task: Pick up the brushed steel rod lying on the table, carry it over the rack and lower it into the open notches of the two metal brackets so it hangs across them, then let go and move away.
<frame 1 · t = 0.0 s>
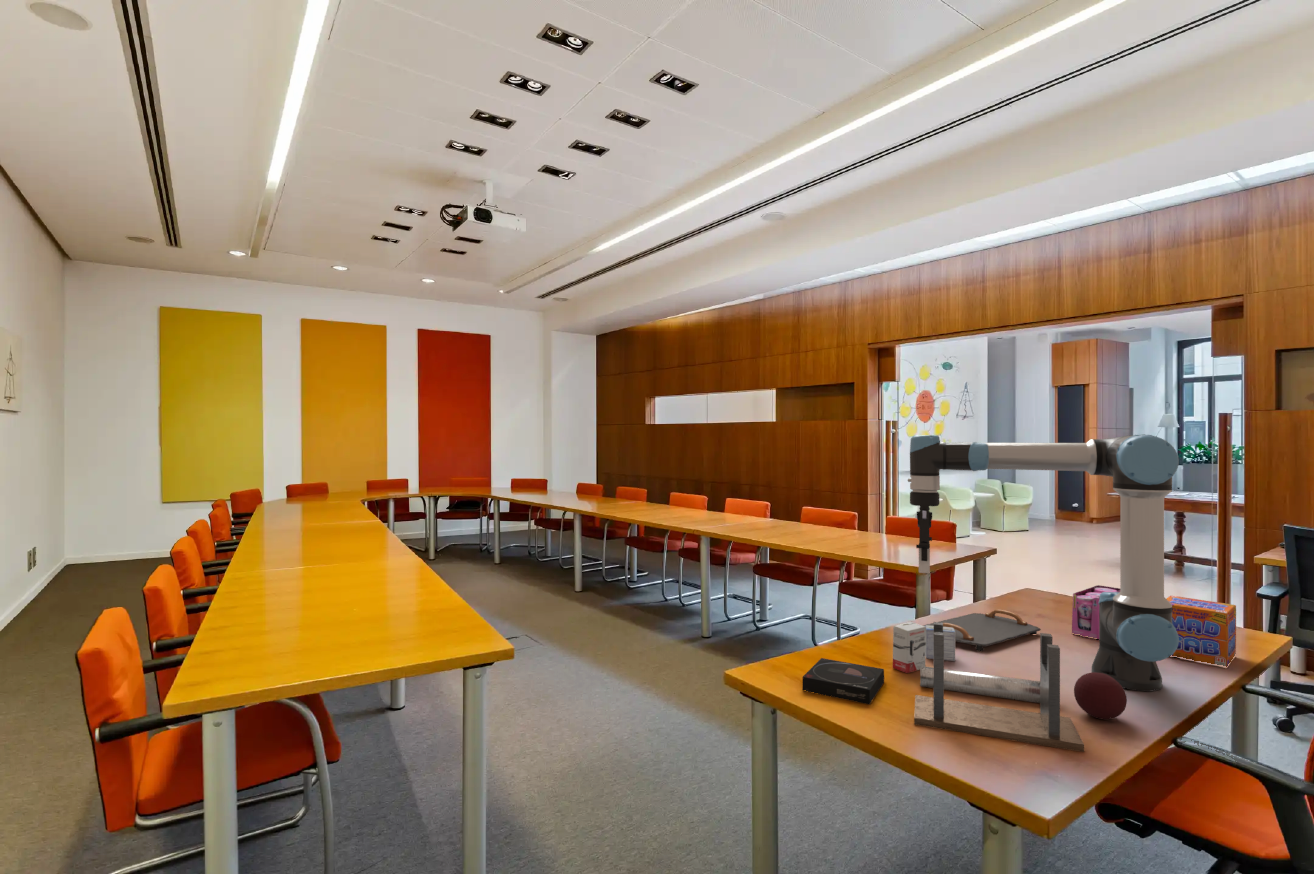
hand: (924, 568, 177), 28 cm above the table, tool pointing down, fingers open, 13 cm apart
bracket rack: (992, 724, 143), on the table
decorative ball: (1099, 718, 147), on the table
ink box: (909, 668, 179), on the table
steel rod: (985, 694, 161), on the table
medicine box: (939, 658, 188), on the table
gum box: (1098, 632, 215), on the table
portable cd player: (844, 688, 165), on the table
serving board: (980, 636, 210), on the table
game box: (1197, 657, 190), on the table
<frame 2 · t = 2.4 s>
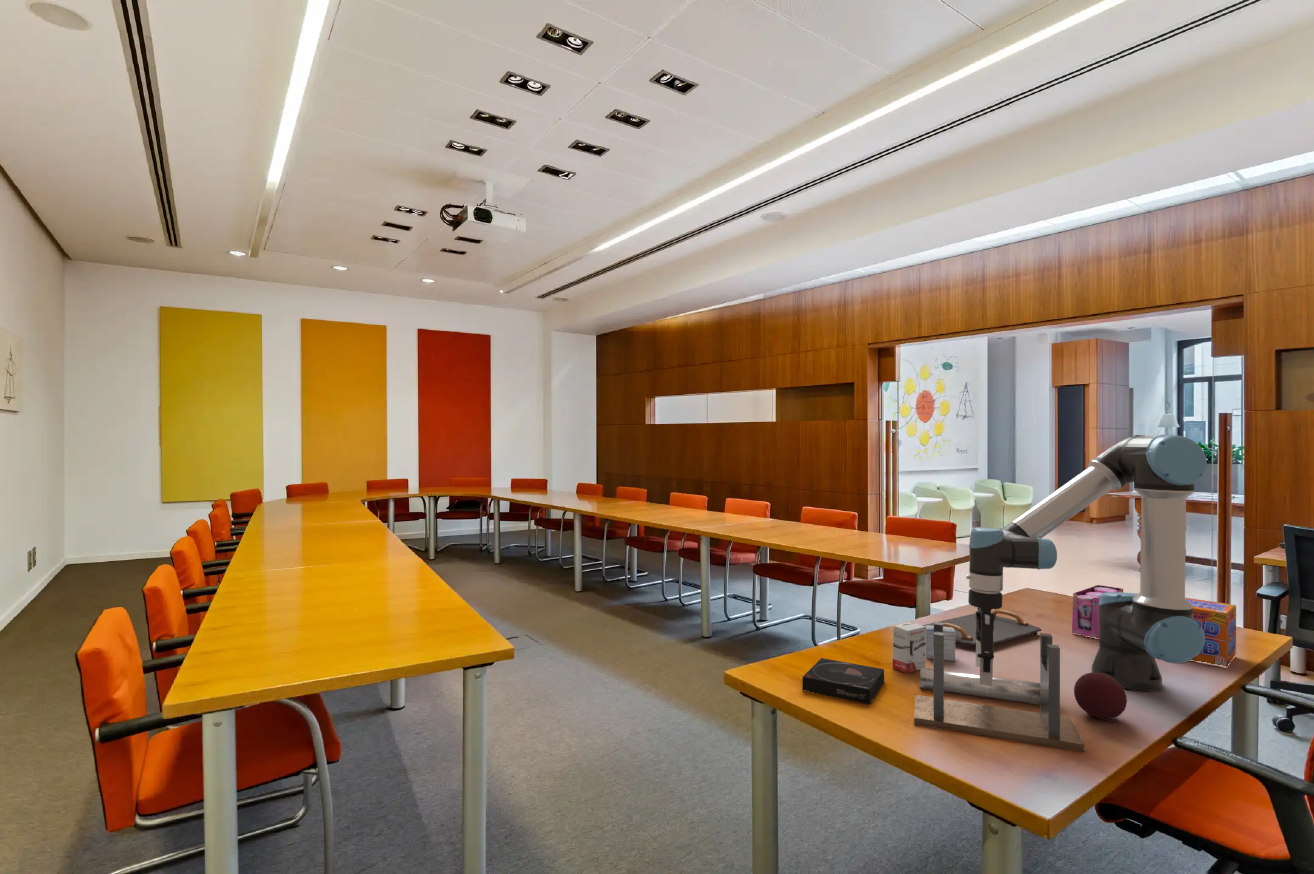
hand: (983, 675, 161), 4 cm above the table, tool pointing down, fingers open, 13 cm apart
steel rod: (985, 693, 161), on the table, tilted 29°
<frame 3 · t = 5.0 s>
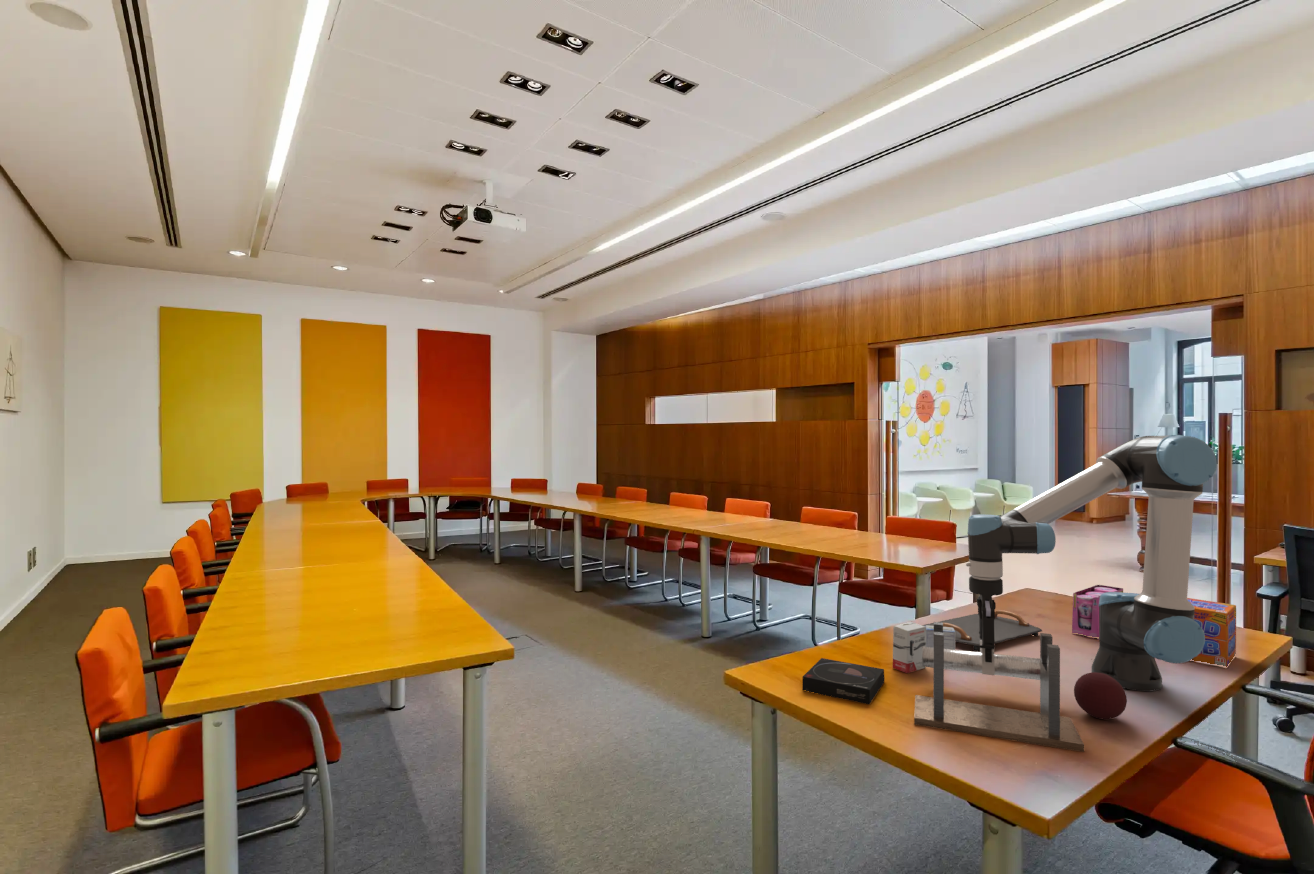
hand: (987, 670, 161), 6 cm above the table, tool pointing down, fingers closed on steel rod, 5 cm apart
steel rod: (987, 671, 162), point 5 cm above the table, tilted 26°, touching gripper
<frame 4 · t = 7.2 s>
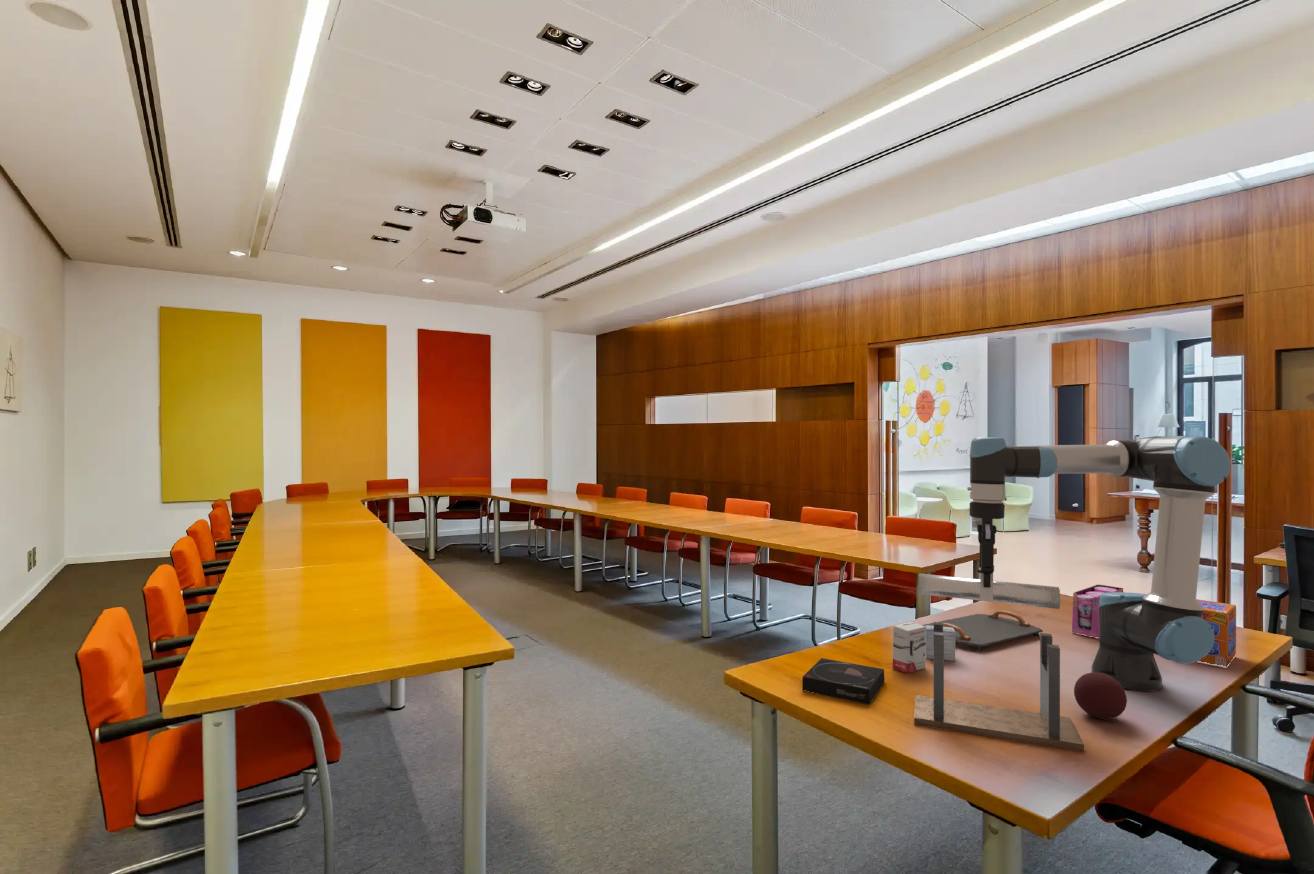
hand: (985, 597, 155), 25 cm above the table, tool pointing down, fingers closed on steel rod, 5 cm apart
steel rod: (985, 598, 156), point 25 cm above the table, tilted 25°, touching gripper
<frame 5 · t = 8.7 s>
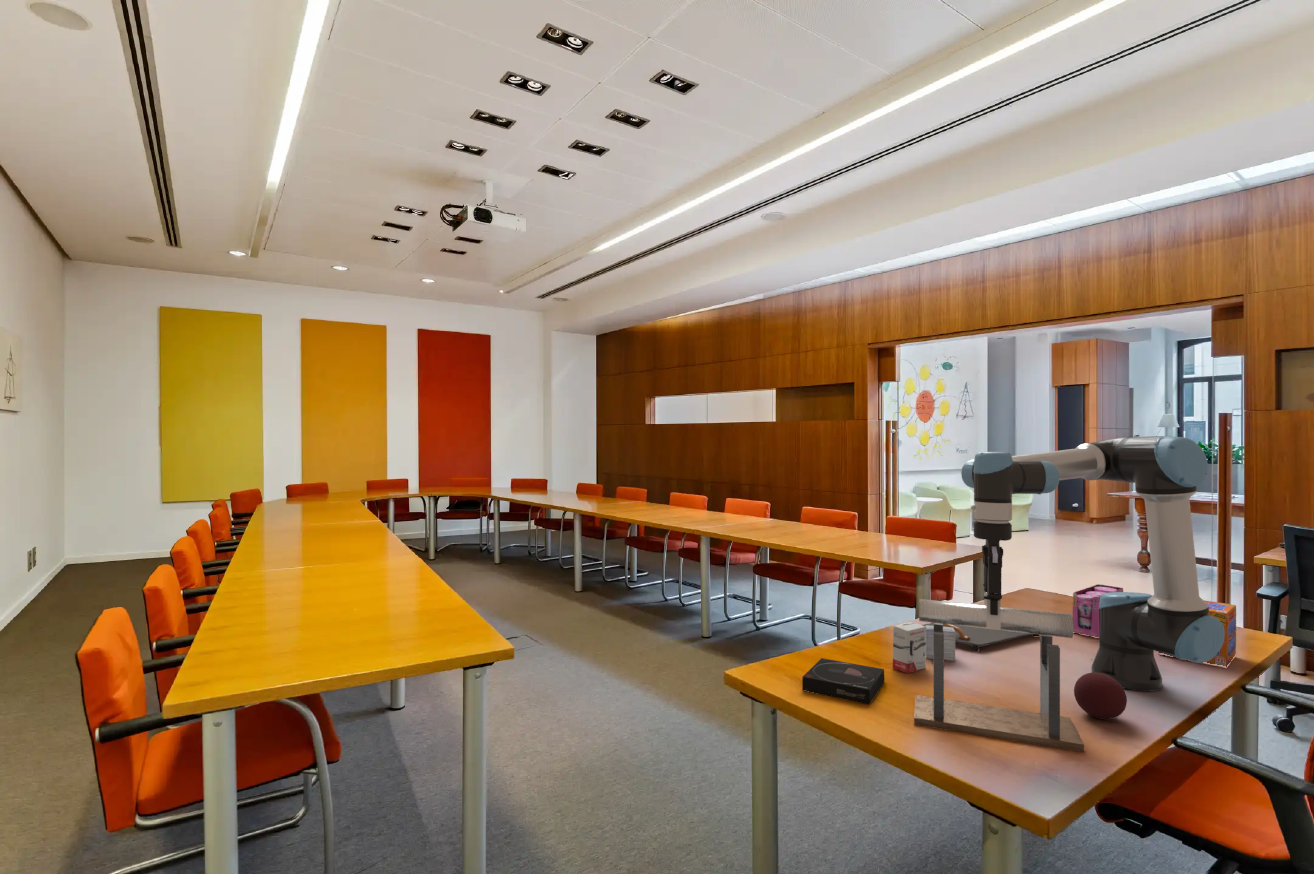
hand: (992, 625, 143), 22 cm above the table, tool pointing down, fingers closed on steel rod, 5 cm apart
steel rod: (991, 626, 144), point 21 cm above the table, tilted 25°, touching gripper
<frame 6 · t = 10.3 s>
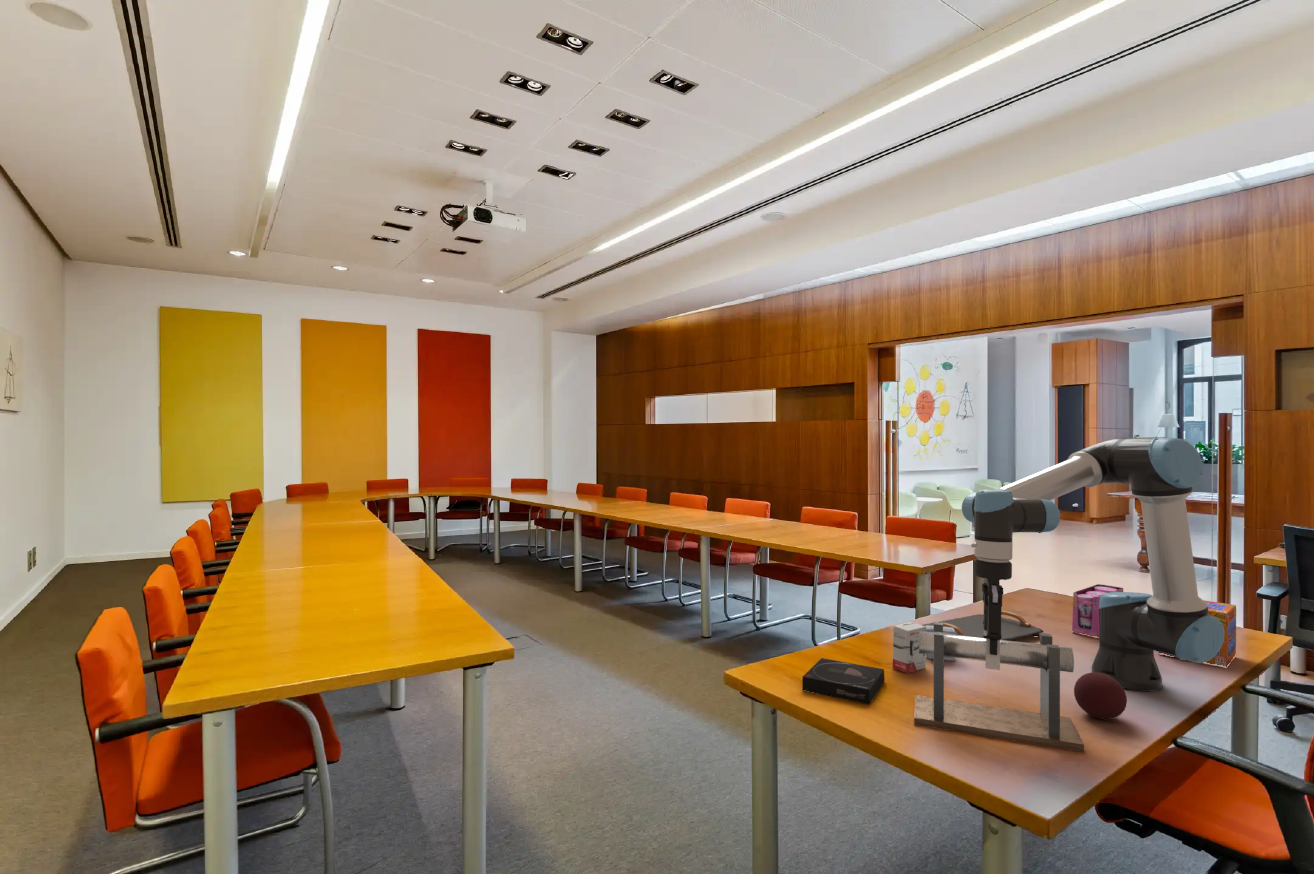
hand: (991, 664, 143), 13 cm above the table, tool pointing down, fingers closed on steel rod, 5 cm apart
steel rod: (991, 657, 144), point 15 cm above the table, tilted 39°, touching bracket rack, gripper
when the fingers open (13 cm above the table, at t = 10.5 s): steel rod stays where it is, resting on bracket rack.
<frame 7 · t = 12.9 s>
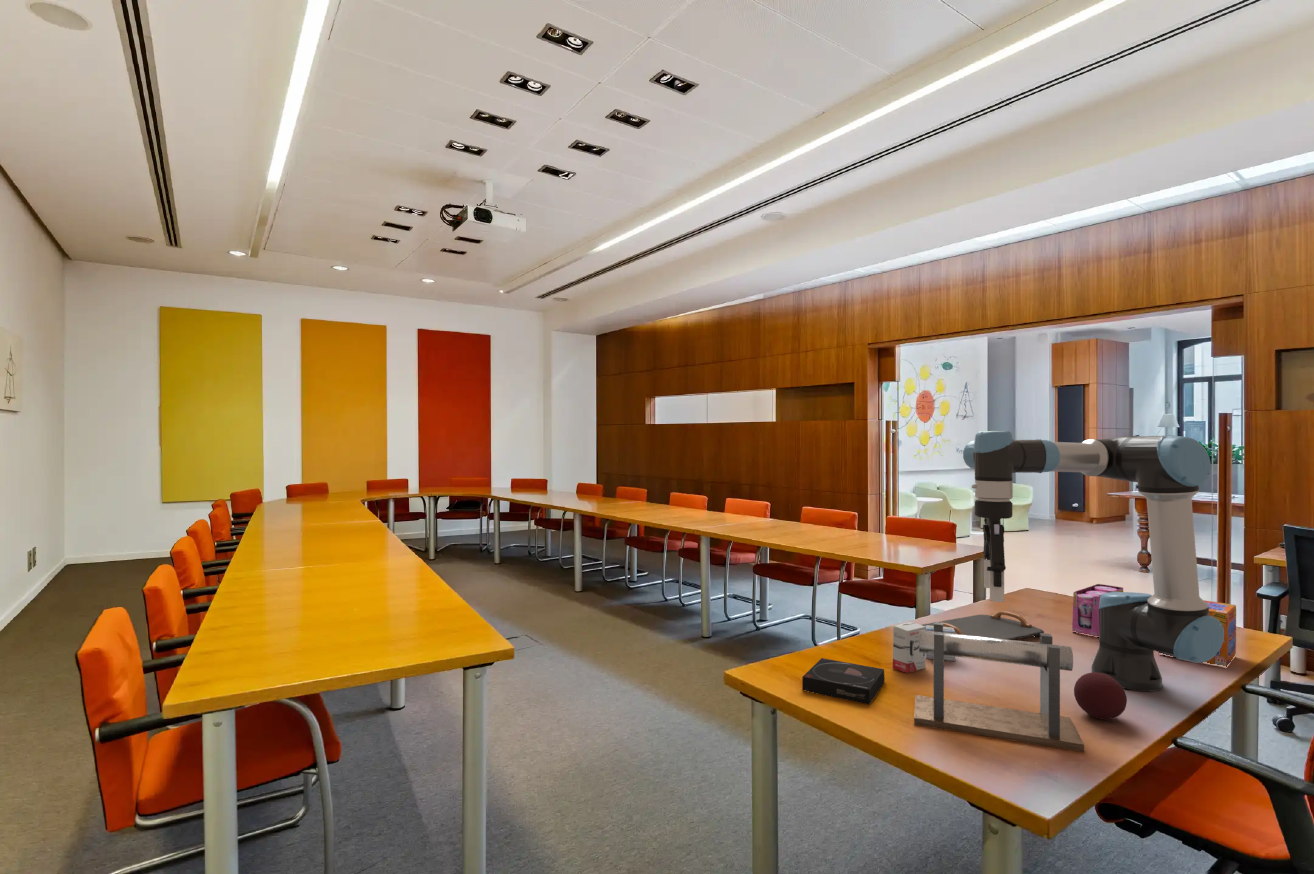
hand: (993, 594, 144), 29 cm above the table, tool pointing down, fingers open, 13 cm apart
steel rod: (991, 659, 144), point 14 cm above the table, tilted 18°, touching bracket rack
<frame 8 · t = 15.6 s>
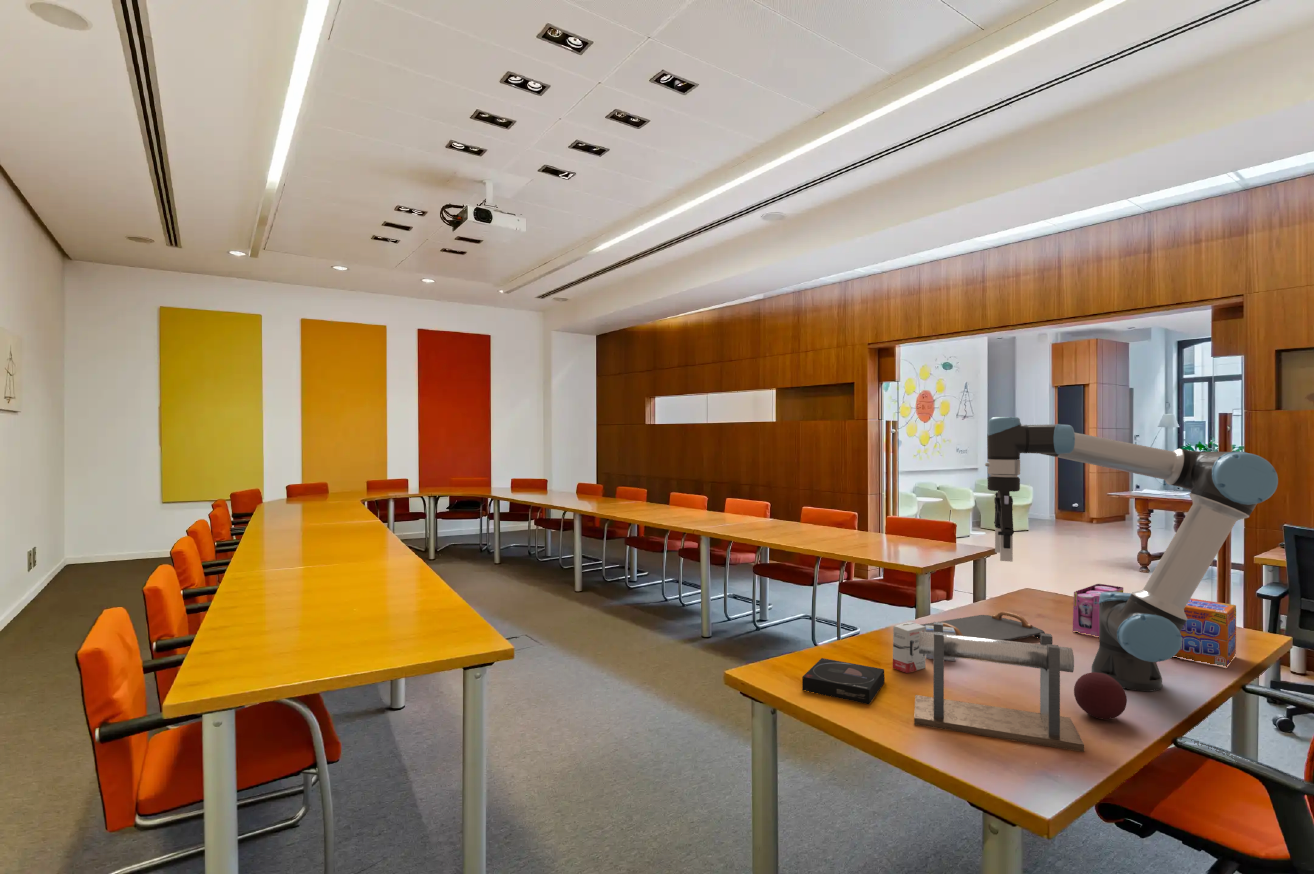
hand: (1003, 556, 169), 33 cm above the table, tool pointing down, fingers open, 13 cm apart
steel rod: (991, 657, 144), point 15 cm above the table, tilted 41°, touching bracket rack
at the end: steel rod 0.9 cm off-centre on the bracket rack, point 14.6 cm above the bracket rack's base; the gripper is holding nothing; steel rod touching bracket rack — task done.
